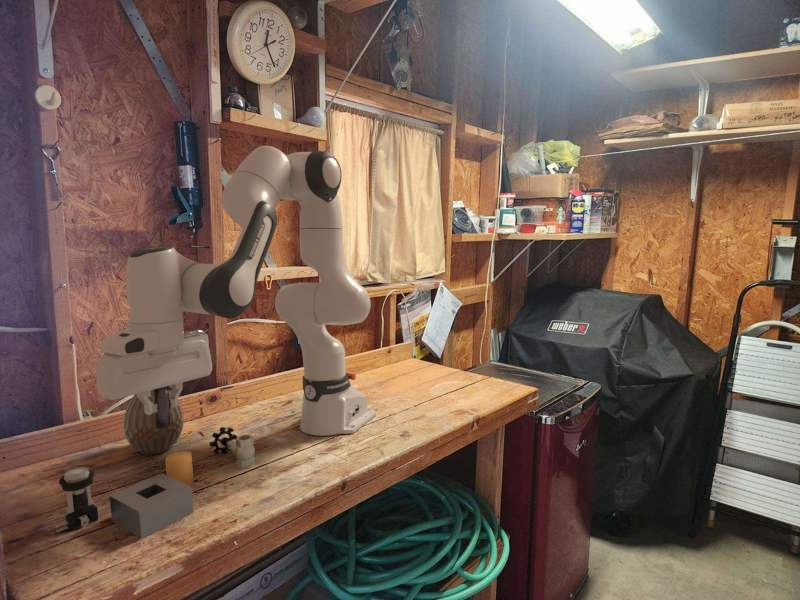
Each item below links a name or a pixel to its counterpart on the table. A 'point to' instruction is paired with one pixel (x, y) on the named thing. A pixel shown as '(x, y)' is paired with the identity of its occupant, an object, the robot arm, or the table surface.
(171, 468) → the orange rounded tapered piece
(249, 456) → the valve
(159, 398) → the cylinder
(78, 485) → the push button
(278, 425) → the table surface
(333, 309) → the robot arm
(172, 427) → the vase
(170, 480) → the bore block
